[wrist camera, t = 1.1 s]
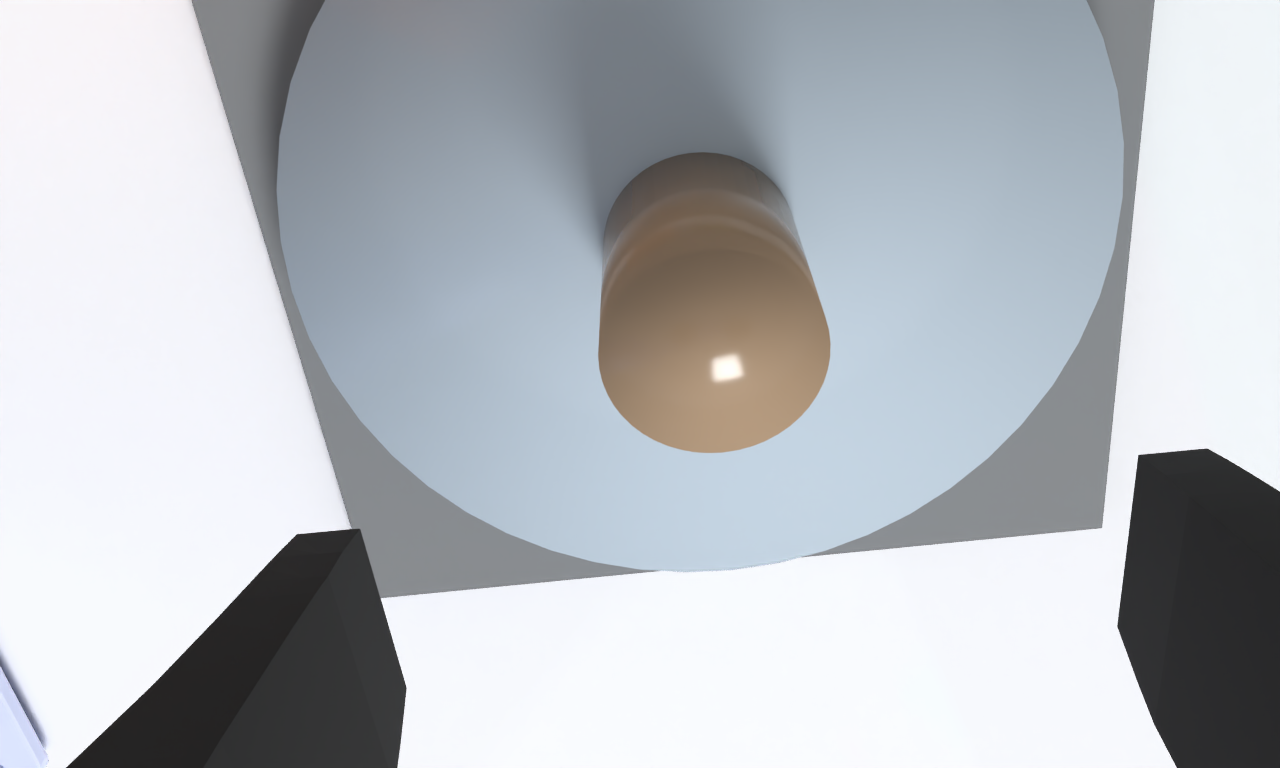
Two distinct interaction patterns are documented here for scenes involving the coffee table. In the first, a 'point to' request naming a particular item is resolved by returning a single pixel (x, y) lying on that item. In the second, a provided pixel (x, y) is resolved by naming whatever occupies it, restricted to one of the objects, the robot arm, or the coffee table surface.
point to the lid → (697, 253)
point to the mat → (488, 557)
